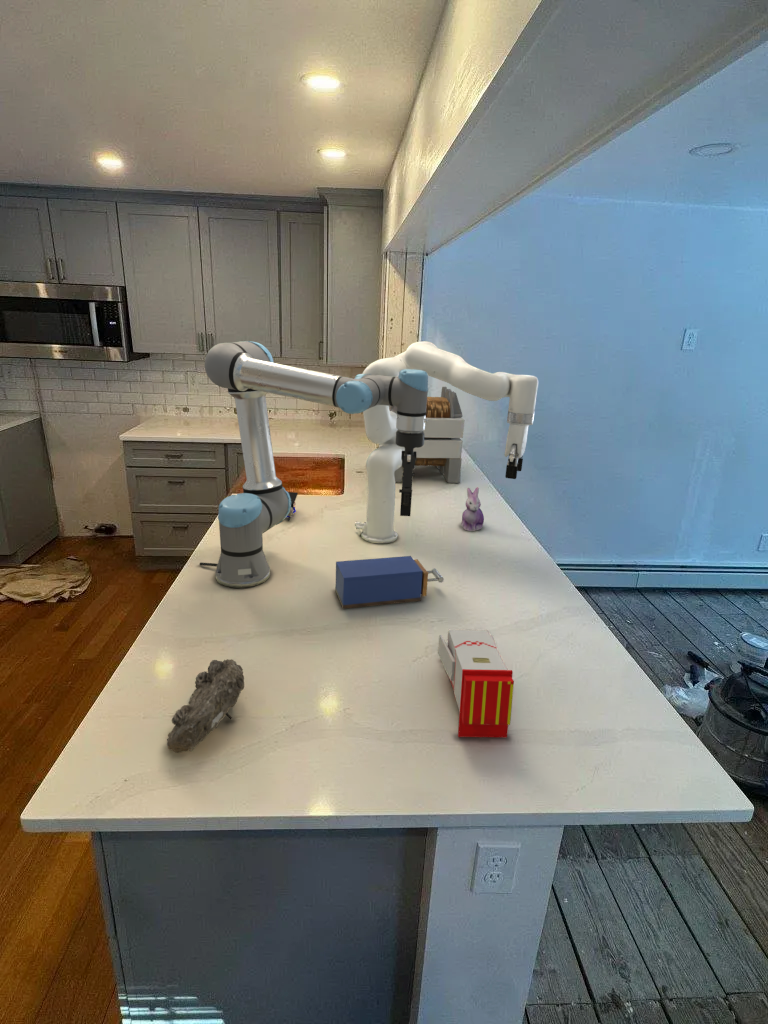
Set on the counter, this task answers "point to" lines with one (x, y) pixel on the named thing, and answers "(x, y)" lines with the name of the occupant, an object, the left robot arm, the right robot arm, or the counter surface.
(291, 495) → the figurine character
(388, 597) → the cabinet
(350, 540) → the counter surface
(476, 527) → the figurine
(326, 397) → the left robot arm
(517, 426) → the right robot arm
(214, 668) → the fossil
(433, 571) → the drawer
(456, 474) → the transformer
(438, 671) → the counter surface
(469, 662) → the toy
